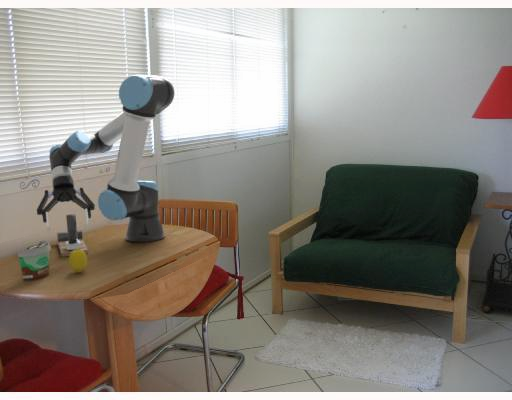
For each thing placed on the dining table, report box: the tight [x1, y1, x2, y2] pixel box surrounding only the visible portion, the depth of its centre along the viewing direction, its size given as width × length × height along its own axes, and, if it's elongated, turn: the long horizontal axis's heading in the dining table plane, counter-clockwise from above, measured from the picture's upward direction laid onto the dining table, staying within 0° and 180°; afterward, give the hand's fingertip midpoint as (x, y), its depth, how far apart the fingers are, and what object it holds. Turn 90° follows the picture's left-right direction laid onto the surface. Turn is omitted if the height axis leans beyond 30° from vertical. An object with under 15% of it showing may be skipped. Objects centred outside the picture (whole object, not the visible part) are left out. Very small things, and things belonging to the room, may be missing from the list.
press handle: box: [65, 213, 81, 250], centre depth 195 cm, size 5×5×12 cm
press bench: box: [56, 229, 89, 258], centre depth 202 cm, size 20×9×4 cm, turn 23°
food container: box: [17, 240, 52, 282], centre depth 169 cm, size 12×6×10 cm, turn 168°
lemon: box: [68, 248, 88, 273], centre depth 172 cm, size 6×6×8 cm
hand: (68, 227), depth 196 cm, fingers open, 13 cm apart
